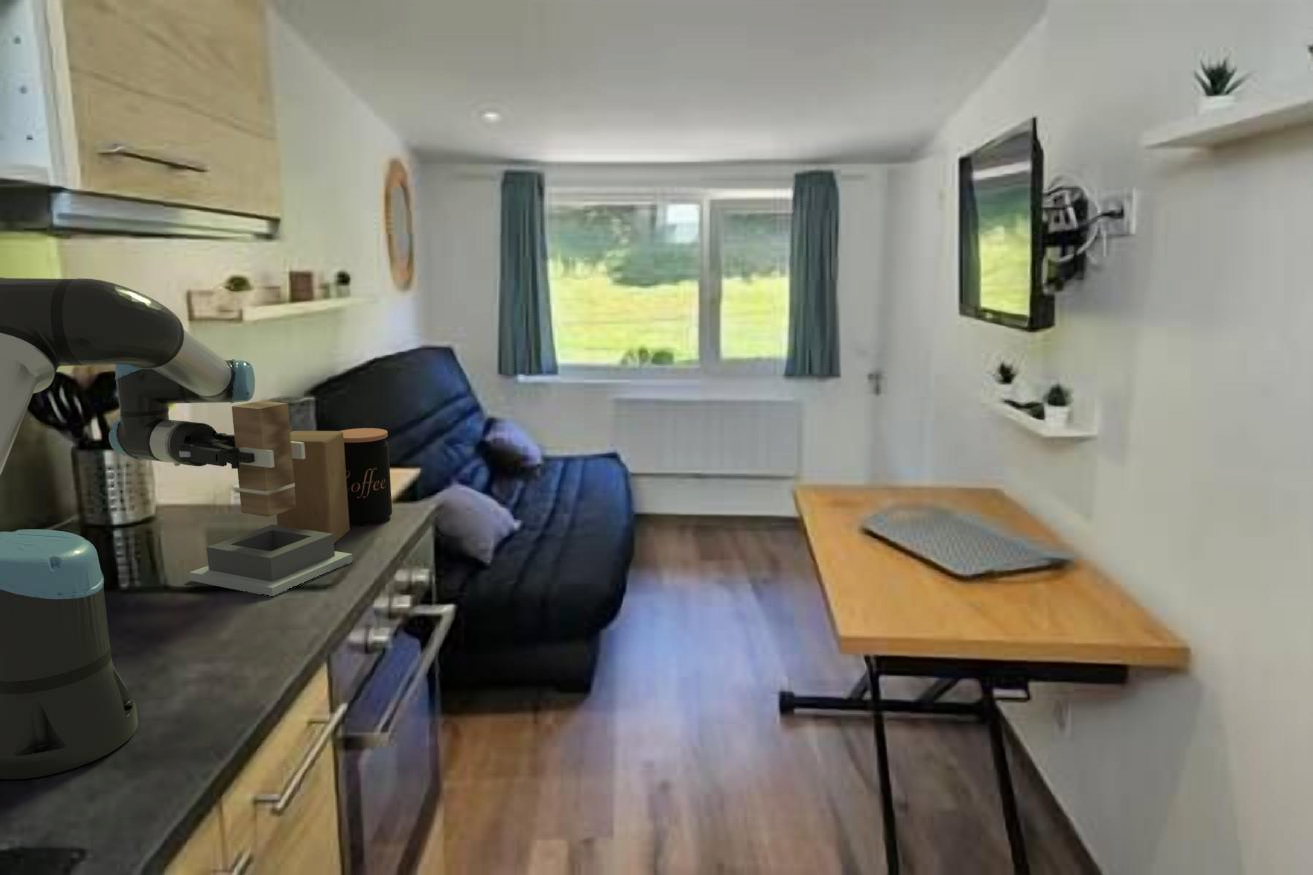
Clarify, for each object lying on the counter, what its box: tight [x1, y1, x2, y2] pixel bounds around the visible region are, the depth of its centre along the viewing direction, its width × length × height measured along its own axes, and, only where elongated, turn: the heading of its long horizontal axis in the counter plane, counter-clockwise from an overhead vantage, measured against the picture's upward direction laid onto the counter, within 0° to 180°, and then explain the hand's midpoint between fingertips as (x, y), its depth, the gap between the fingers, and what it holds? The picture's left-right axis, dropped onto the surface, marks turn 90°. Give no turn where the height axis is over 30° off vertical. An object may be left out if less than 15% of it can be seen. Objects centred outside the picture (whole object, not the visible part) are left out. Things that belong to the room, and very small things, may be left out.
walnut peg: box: [231, 400, 296, 518], centre depth 150 cm, size 6×6×18 cm
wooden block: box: [276, 430, 351, 544], centre depth 169 cm, size 10×10×20 cm
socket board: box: [189, 524, 353, 597], centre depth 153 cm, size 18×18×6 cm
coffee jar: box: [340, 427, 393, 527], centre depth 182 cm, size 11×11×18 cm
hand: (287, 454), depth 147 cm, fingers closed on walnut peg, 6 cm apart
